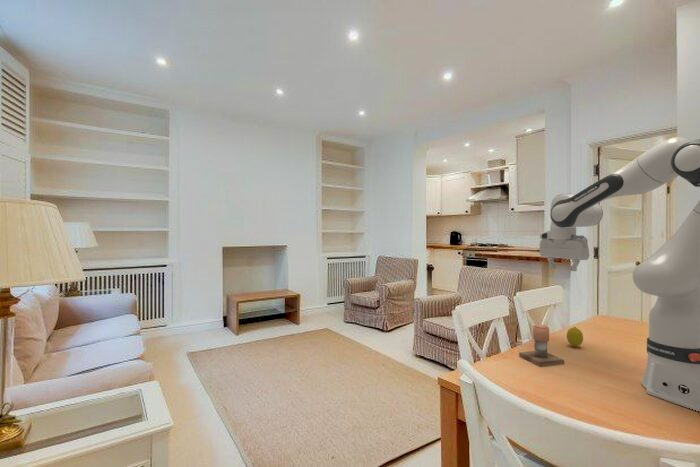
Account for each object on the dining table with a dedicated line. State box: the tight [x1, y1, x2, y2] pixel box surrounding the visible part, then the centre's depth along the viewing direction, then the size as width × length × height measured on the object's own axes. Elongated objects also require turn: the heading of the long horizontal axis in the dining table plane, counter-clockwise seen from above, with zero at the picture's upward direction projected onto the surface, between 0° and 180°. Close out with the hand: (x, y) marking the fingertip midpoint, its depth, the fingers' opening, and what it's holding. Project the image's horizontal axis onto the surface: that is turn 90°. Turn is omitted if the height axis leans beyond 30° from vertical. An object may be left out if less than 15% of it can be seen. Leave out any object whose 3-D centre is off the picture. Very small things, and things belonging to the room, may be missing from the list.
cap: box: [532, 324, 550, 343], centre depth 122 cm, size 5×5×5 cm
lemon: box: [566, 326, 584, 348], centre depth 136 cm, size 6×6×8 cm
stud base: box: [518, 340, 565, 368], centre depth 122 cm, size 10×10×8 cm
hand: (562, 269), depth 136 cm, fingers open, 8 cm apart
